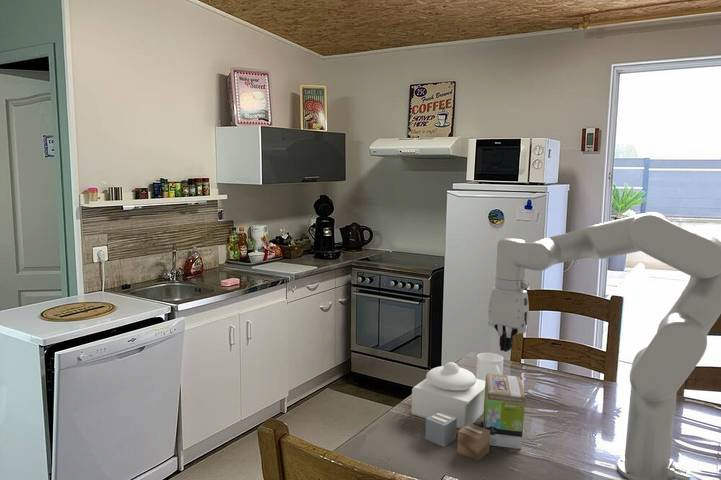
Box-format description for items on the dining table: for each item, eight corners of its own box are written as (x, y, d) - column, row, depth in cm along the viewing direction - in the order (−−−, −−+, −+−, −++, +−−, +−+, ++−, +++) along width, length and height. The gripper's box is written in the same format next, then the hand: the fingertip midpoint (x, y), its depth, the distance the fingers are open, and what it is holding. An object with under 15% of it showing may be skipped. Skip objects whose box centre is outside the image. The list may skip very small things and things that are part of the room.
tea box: (523, 450, 139) (526, 396, 137) (483, 445, 141) (486, 392, 139) (517, 423, 153) (520, 375, 151) (482, 420, 155) (484, 372, 153)
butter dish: (436, 394, 173) (438, 348, 171) (489, 409, 163) (492, 360, 161) (411, 414, 158) (412, 363, 156) (467, 431, 148) (469, 377, 146)
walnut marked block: (489, 452, 137) (490, 429, 137) (477, 461, 133) (478, 438, 132) (468, 444, 141) (469, 422, 141) (457, 452, 137) (458, 430, 136)
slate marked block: (456, 438, 144) (456, 417, 143) (444, 447, 140) (444, 424, 139) (437, 431, 148) (438, 410, 147) (425, 439, 144) (426, 417, 143)
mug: (486, 397, 171) (488, 365, 169) (471, 383, 182) (473, 353, 181) (511, 395, 172) (512, 364, 171) (494, 381, 184) (496, 352, 183)
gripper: (542, 286, 139) (537, 353, 142) (490, 278, 149) (487, 340, 152) (530, 291, 134) (525, 360, 136) (477, 282, 144) (474, 346, 146)
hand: (505, 349), depth 144 cm, fingers closed
